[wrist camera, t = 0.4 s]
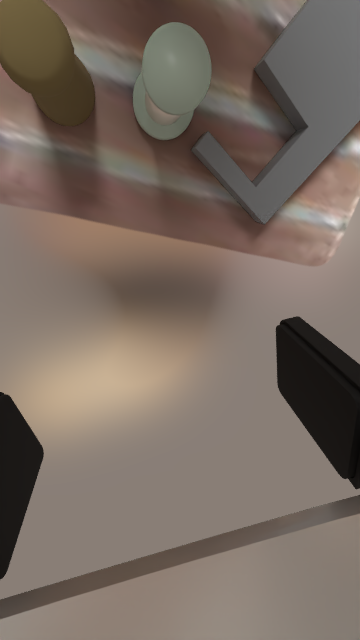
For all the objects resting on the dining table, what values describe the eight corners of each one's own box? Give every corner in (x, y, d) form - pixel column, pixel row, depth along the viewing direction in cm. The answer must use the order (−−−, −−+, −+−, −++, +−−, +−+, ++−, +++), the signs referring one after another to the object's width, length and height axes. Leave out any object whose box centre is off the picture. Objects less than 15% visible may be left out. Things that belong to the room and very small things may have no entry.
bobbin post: (159, 47, 27) (173, -18, 18) (204, 103, 30) (236, 69, 21) (120, 105, 29) (115, 71, 20) (166, 154, 31) (180, 142, 22)
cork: (107, 93, 28) (95, 44, 18) (70, 140, 29) (40, 119, 20) (55, 31, 26) (10, -62, 16) (17, 86, 27) (-47, 31, 17)
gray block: (327, -27, 27) (345, -46, 25) (381, 83, 32) (400, 75, 29) (190, 149, 32) (195, 147, 29) (256, 221, 36) (264, 224, 34)
